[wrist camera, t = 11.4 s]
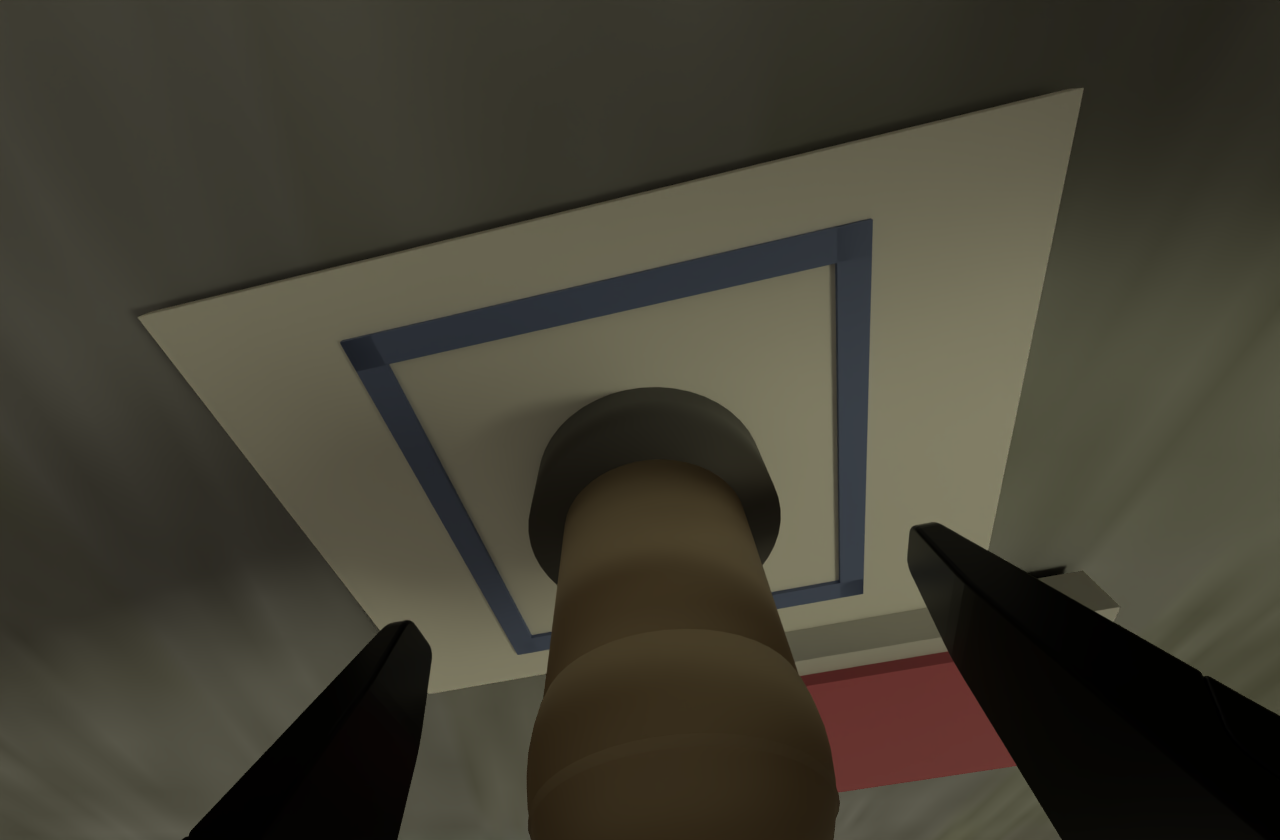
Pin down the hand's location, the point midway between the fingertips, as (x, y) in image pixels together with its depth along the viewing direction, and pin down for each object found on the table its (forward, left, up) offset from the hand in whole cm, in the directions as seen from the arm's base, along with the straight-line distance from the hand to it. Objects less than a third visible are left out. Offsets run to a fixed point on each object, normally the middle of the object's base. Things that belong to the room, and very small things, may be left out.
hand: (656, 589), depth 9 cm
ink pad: (-6, +10, -3) cm, 12 cm away
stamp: (0, 0, -3) cm, 3 cm away
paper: (0, 0, -3) cm, 3 cm away
